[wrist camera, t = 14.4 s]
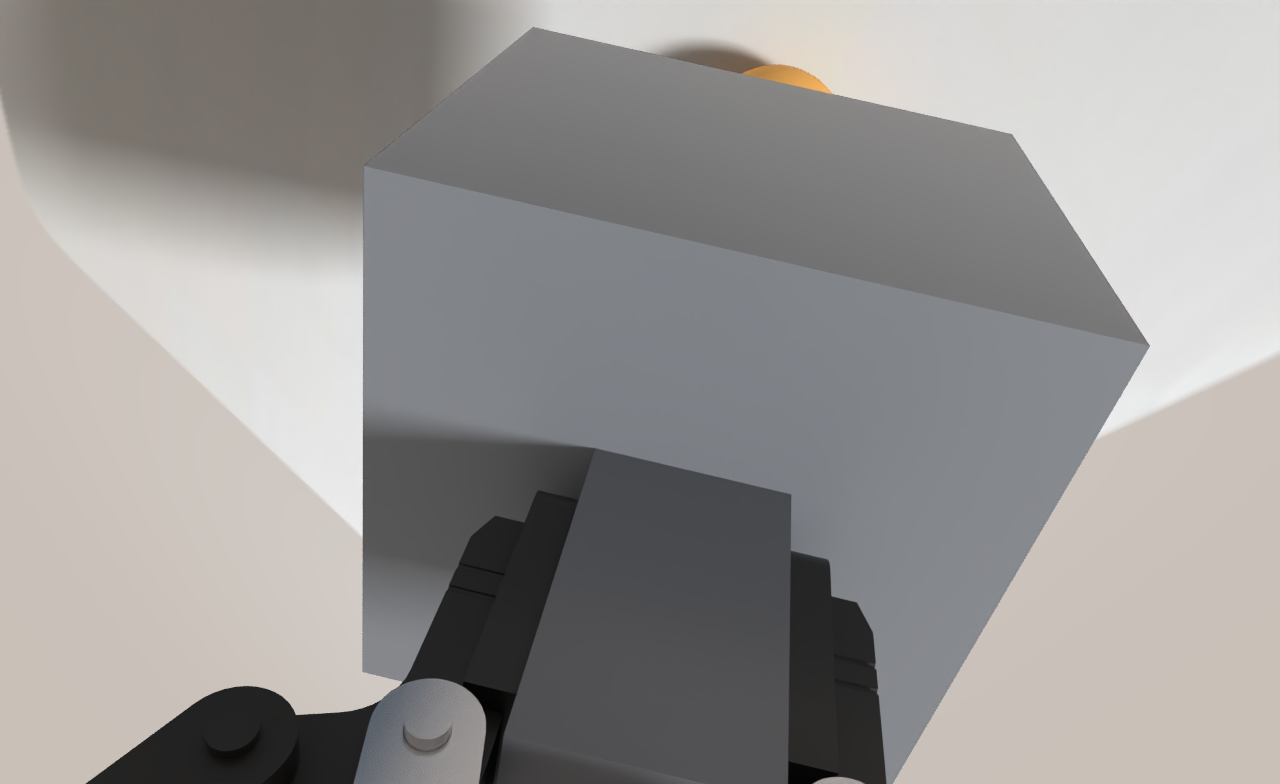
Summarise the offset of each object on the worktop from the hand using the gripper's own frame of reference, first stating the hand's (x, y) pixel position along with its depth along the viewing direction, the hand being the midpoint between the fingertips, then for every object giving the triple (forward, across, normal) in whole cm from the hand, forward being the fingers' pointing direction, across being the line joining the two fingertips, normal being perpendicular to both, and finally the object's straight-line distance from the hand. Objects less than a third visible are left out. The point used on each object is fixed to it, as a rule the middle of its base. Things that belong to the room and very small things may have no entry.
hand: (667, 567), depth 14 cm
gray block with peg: (+10, 0, 0) cm, 10 cm away
